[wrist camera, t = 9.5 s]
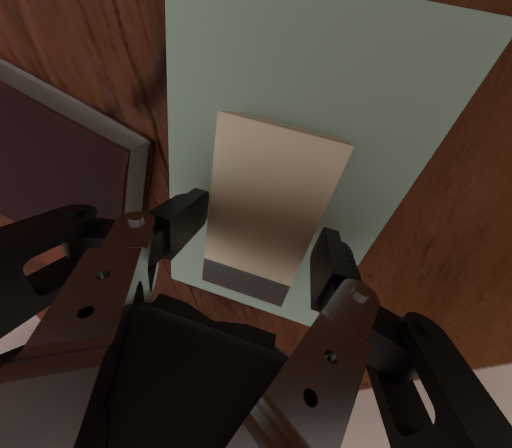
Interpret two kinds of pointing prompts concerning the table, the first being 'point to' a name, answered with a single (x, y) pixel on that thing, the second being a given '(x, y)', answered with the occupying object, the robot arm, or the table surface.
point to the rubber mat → (323, 100)
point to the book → (66, 153)
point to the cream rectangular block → (266, 201)
